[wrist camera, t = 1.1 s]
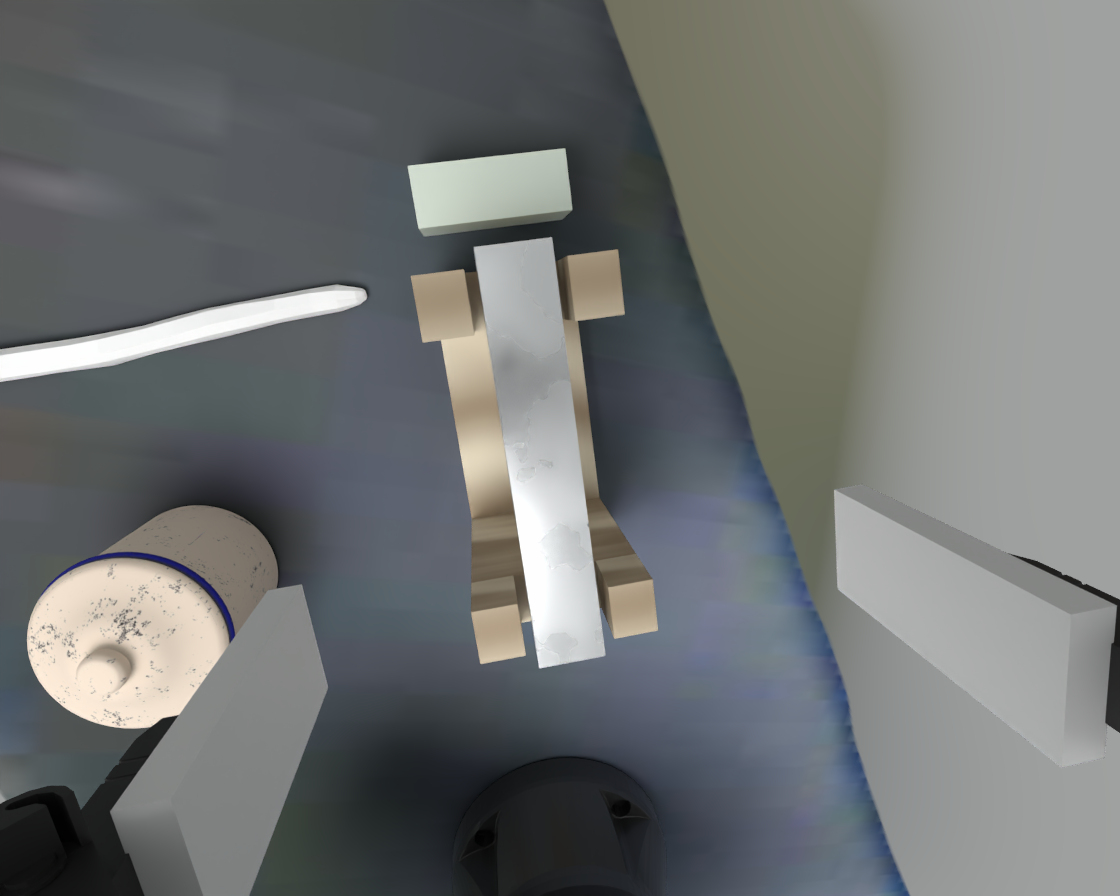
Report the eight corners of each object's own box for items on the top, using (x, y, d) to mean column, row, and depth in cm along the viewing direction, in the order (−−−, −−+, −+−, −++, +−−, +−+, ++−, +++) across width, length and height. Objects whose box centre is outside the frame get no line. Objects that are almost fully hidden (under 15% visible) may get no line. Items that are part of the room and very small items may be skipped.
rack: (600, 528, 42) (658, 630, 29) (478, 549, 41) (480, 664, 28) (568, 268, 38) (617, 249, 25) (432, 286, 37) (410, 276, 24)
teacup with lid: (93, 540, 38) (-69, 640, 27) (234, 473, 38) (133, 545, 27) (204, 698, 41) (101, 848, 30) (334, 636, 41) (281, 762, 30)
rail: (593, 623, 32) (605, 655, 29) (533, 634, 31) (539, 668, 28) (543, 244, 27) (552, 237, 24) (473, 253, 27) (473, 247, 24)
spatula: (353, 239, 36) (343, 234, 34) (373, 310, 37) (365, 311, 35) (-169, 343, 34) (-225, 347, 31) (-133, 417, 35) (-185, 427, 32)
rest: (562, 219, 37) (572, 209, 33) (424, 236, 37) (418, 228, 33) (522, -101, 34) (529, -153, 30) (368, -89, 33) (354, -142, 29)
